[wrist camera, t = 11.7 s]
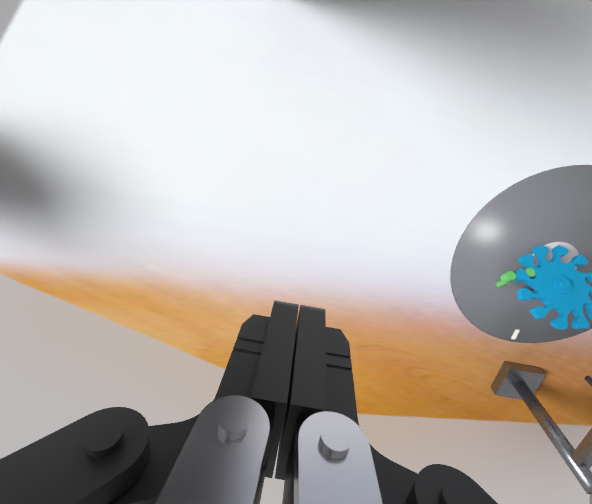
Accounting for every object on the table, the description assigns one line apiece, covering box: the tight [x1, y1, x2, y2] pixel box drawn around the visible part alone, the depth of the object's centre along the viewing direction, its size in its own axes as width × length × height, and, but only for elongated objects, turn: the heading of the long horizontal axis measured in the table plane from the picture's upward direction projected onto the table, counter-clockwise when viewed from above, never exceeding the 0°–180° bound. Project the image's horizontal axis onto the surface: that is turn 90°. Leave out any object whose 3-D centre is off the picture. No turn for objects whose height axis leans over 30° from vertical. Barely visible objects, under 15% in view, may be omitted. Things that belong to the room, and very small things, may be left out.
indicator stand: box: [491, 361, 592, 504], centre depth 38 cm, size 12×5×21 cm, turn 171°
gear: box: [496, 245, 592, 330], centre depth 40 cm, size 11×6×10 cm
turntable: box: [451, 165, 592, 343], centre depth 41 cm, size 24×24×1 cm
